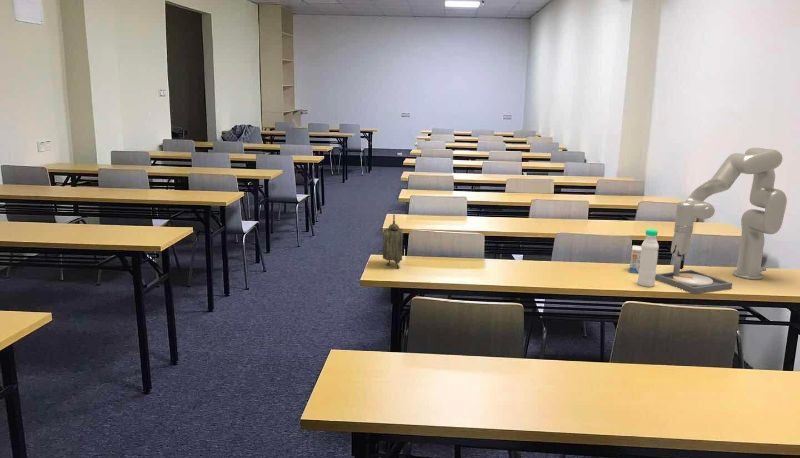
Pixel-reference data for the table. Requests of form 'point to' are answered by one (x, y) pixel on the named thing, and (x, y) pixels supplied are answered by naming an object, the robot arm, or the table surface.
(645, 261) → the water bottle
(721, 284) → the gray square tray
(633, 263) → the ink box
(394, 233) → the ribbed lidded container
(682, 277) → the dial
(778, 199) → the robot arm
